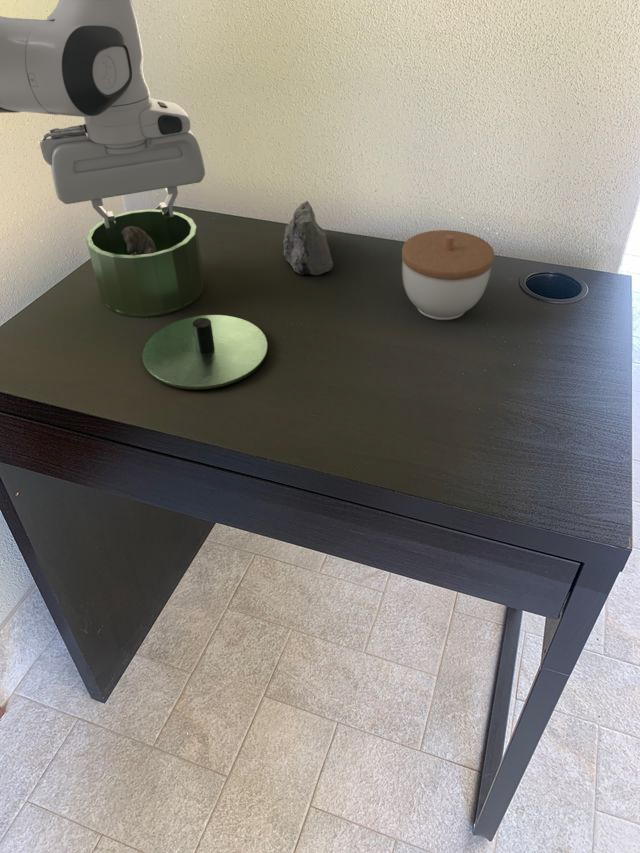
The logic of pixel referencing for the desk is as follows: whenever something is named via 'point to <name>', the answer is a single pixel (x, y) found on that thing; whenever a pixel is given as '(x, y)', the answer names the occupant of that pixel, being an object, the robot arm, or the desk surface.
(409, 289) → the lidded bowl
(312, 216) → the mineral rock
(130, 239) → the dog figurine
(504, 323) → the desk surface
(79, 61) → the robot arm
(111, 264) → the waste tin
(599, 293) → the desk surface
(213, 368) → the tin lid
